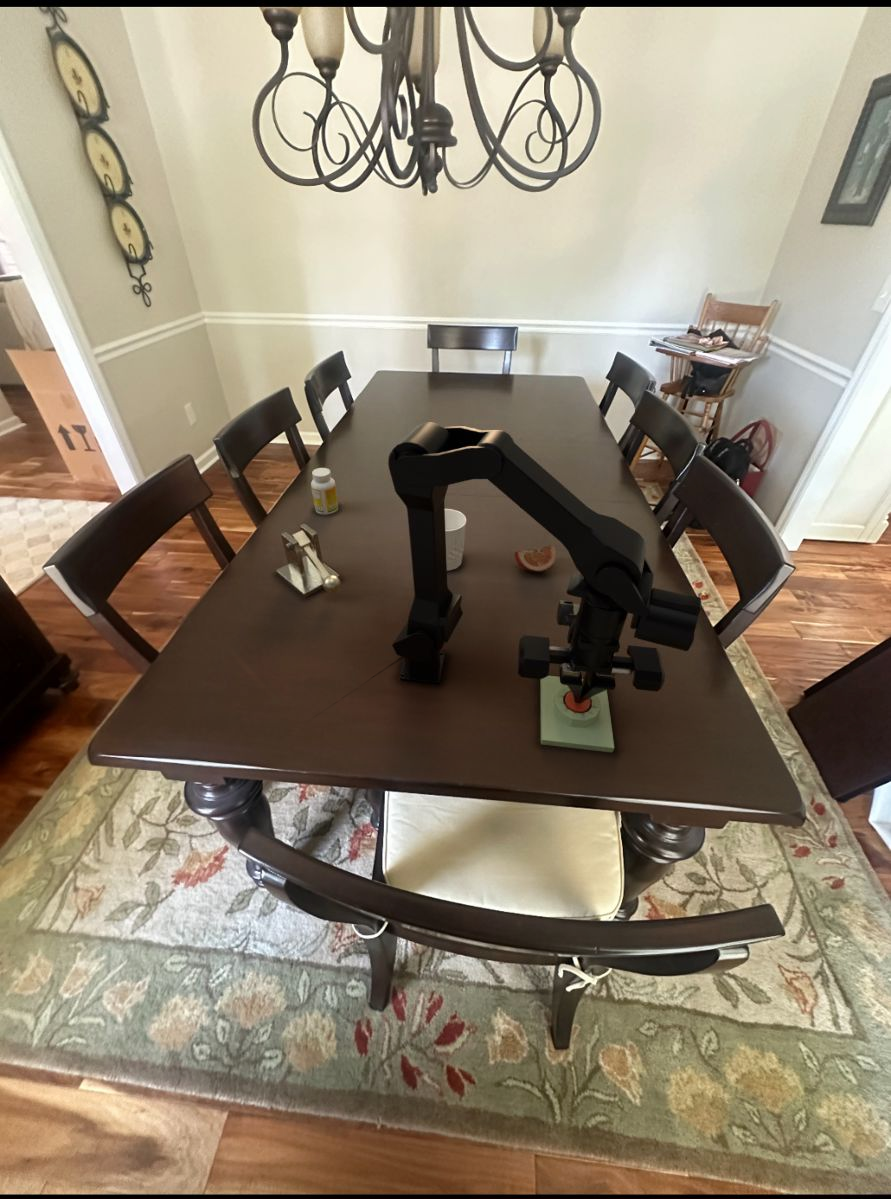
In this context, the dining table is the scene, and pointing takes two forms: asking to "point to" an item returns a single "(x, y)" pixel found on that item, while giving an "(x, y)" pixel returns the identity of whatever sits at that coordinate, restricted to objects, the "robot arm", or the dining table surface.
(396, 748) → the dining table surface
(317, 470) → the supplement bottle
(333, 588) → the lever
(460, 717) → the dining table surface
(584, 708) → the button
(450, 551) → the white cup
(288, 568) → the bracket
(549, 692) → the switchbox
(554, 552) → the fruit slice
